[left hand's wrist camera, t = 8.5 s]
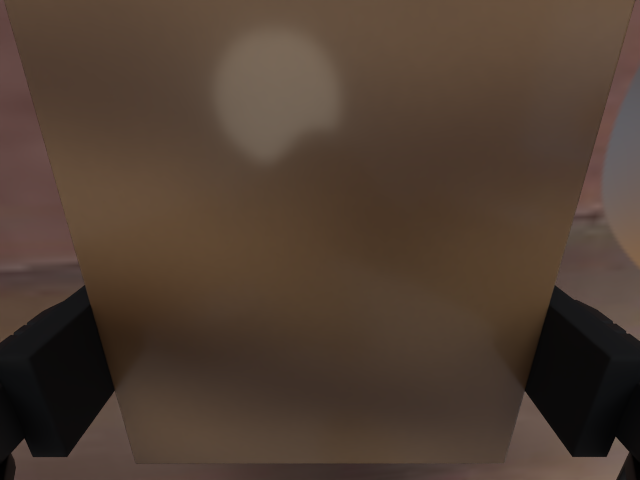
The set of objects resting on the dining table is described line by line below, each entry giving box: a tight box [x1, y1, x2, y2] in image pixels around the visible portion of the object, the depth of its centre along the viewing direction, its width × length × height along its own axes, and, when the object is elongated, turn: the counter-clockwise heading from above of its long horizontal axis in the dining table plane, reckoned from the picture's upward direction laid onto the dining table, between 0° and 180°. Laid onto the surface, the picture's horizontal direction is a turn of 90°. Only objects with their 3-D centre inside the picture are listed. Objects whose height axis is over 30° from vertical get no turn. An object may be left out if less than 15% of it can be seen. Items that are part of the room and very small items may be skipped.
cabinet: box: [4, 0, 635, 464], centre depth 11 cm, size 20×11×10 cm, turn 0°
